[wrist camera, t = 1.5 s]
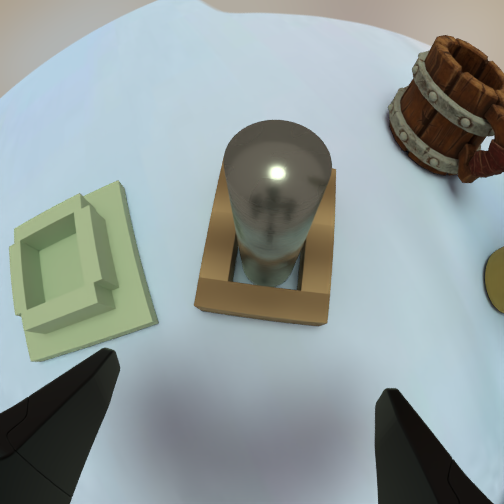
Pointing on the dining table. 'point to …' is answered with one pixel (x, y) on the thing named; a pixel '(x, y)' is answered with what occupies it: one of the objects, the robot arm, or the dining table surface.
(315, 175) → the grey glass peg
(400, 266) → the dining table surface
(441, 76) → the mug
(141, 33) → the dining table surface
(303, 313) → the wooden rectangular frame
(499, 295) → the bark textured cylinder
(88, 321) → the socket stand
